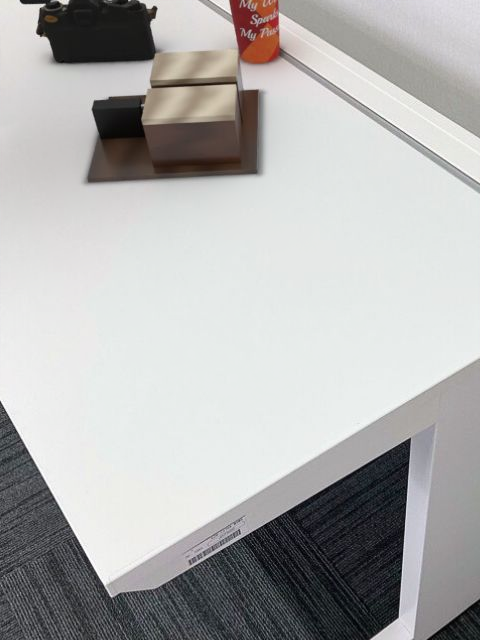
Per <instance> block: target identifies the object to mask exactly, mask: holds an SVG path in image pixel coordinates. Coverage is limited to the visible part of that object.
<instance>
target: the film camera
mask: <svg viewBox="0 0 480 640" xmlns="http://www.w3.org/2000/svg"><path fill="white" fill-rule="evenodd" d="M158 9H159V8H158V7H157V5H153V6H152V7H151V8H147V4H146V3H144V2H141V1H140V0H68V2H67V4H65V3H62V2H60V1H59V0H51V2H50V3H49V4H43V6H40V7H39V8H38V19H37V26H36V29H35V33H36V35H37V36H39V38H47V40H48V42H49V46H50V48H51V52H52V56H53V59H54V61H55V62H56V63H58V64H62V62H65V63H67V64H89V63H117V62H119V63H120V62H144V61H150V60H154V57H155V53H157V50H156V49H157V48H156V44H155V40H154V35H153V31H152V27H151V23H152V22H153V20H156V18H157V13H158Z"/></svg>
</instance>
